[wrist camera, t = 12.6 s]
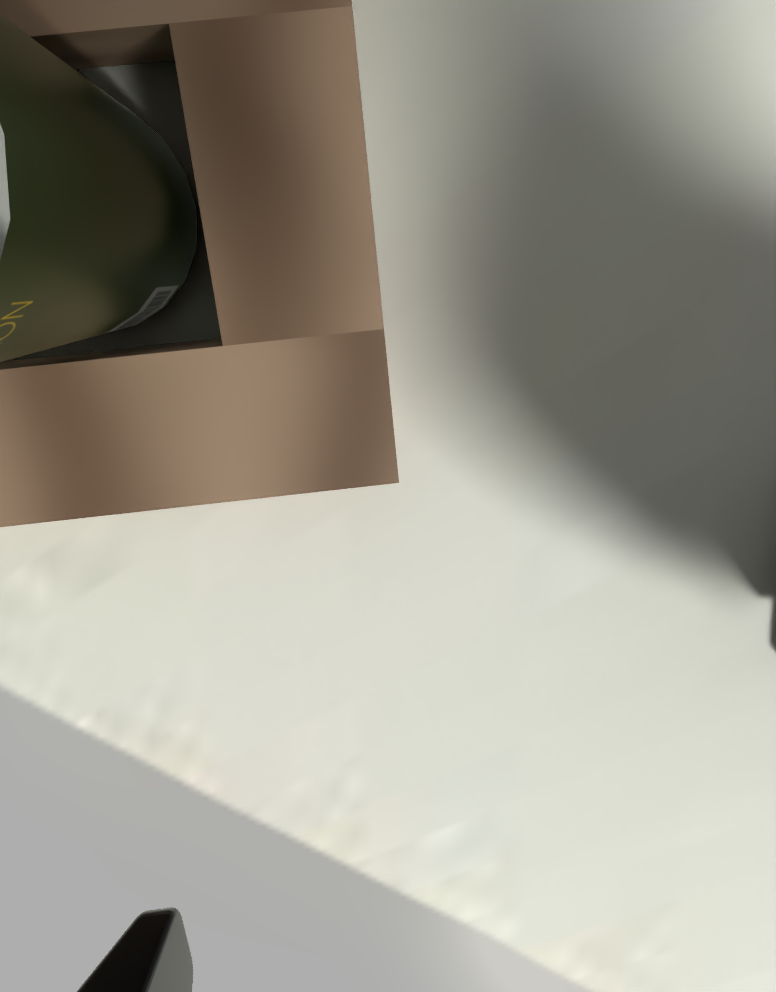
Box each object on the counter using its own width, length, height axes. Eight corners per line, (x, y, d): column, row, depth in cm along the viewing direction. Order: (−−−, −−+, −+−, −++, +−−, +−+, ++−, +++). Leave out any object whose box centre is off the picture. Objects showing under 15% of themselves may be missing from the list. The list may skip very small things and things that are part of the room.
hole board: (331, -150, 16) (329, -223, 14) (392, 457, 20) (398, 482, 18) (-310, -93, 16) (-428, -158, 13) (-110, 513, 20) (-172, 546, 17)
